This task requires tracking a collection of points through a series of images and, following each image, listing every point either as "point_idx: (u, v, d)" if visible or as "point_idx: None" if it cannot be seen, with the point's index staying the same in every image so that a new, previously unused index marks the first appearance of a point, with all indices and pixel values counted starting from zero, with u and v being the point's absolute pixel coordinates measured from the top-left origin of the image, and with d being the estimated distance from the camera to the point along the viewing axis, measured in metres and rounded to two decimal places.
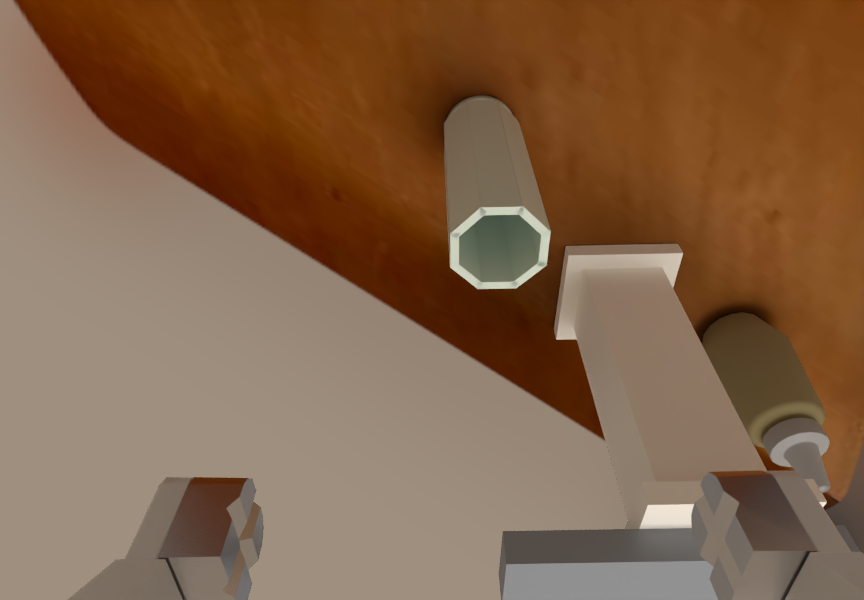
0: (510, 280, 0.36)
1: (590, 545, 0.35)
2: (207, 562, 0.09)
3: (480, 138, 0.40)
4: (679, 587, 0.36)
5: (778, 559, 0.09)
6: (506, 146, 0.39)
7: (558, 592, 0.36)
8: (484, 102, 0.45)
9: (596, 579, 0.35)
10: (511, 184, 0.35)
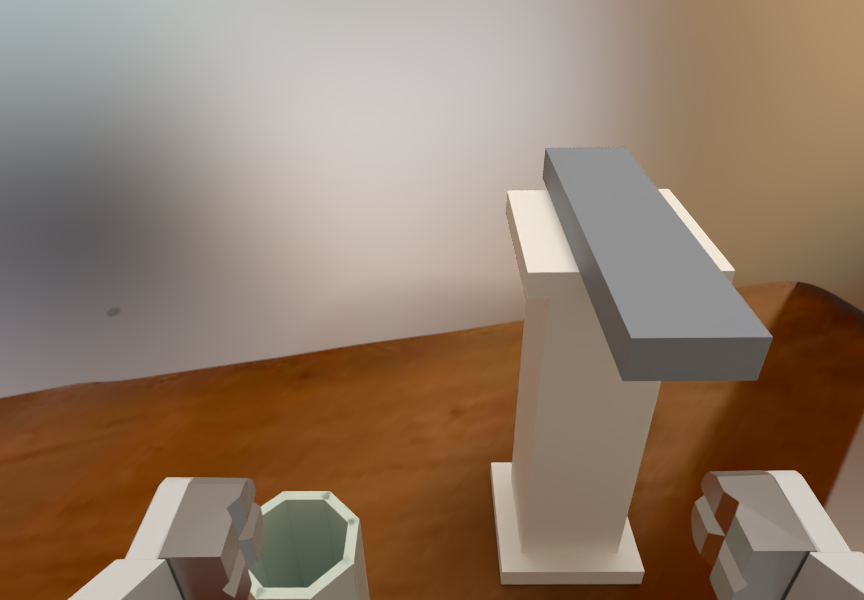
0: None
1: (596, 288, 0.26)
2: (207, 562, 0.09)
3: None
4: (636, 212, 0.30)
5: (778, 559, 0.09)
6: None
7: (696, 287, 0.24)
8: None
9: (642, 262, 0.26)
10: None
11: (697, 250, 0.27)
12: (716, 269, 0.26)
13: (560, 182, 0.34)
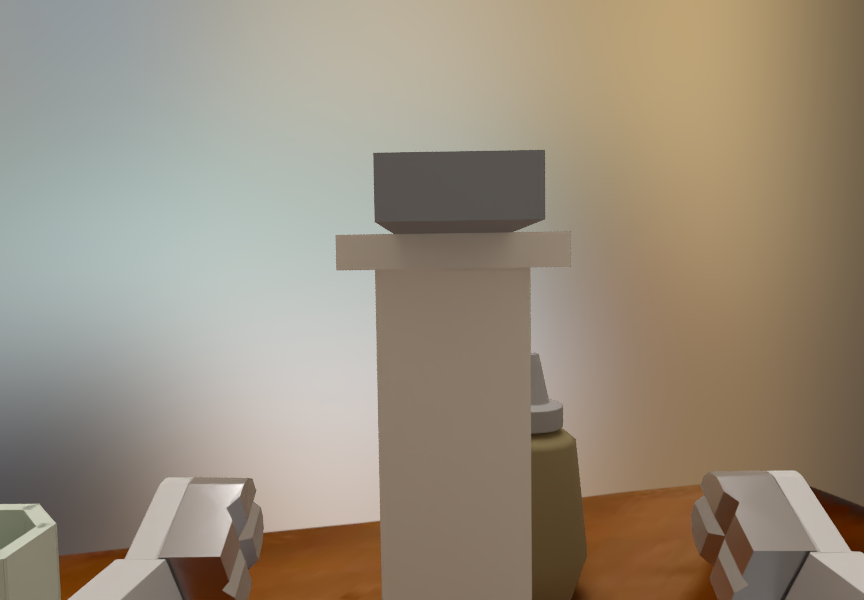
0: None
1: None
2: (208, 562, 0.09)
3: None
4: None
5: (778, 559, 0.09)
6: None
7: None
8: None
9: None
10: None
11: None
12: None
13: None
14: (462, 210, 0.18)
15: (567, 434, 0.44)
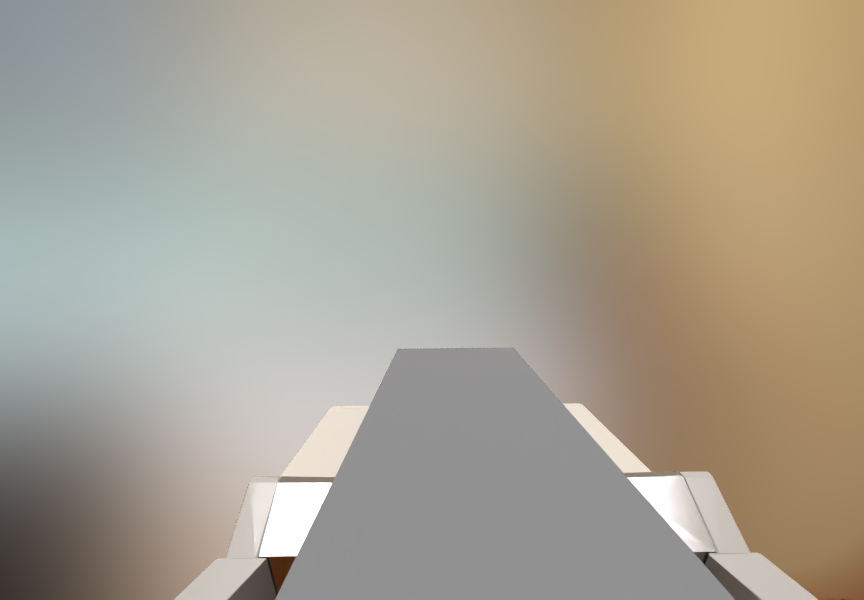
0: None
1: None
2: None
3: None
4: (486, 396, 0.17)
5: None
6: None
7: (545, 493, 0.10)
8: None
9: (445, 454, 0.12)
10: None
11: (575, 438, 0.13)
12: (607, 464, 0.11)
13: (387, 373, 0.21)
14: None
15: None
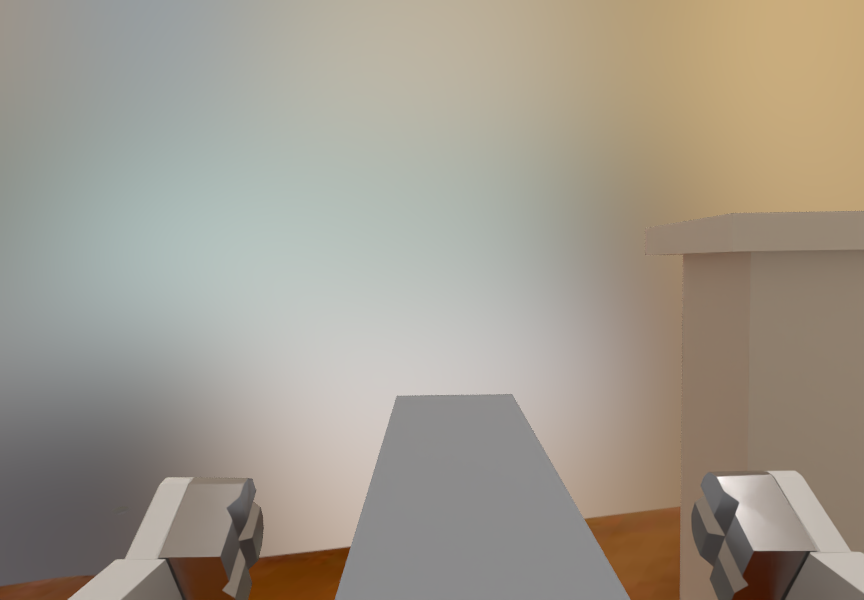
0: None
1: None
2: (207, 562, 0.09)
3: None
4: (485, 469, 0.17)
5: (778, 559, 0.09)
6: None
7: None
8: None
9: (445, 559, 0.12)
10: None
11: (574, 533, 0.13)
12: (606, 573, 0.11)
13: (386, 432, 0.21)
14: None
15: None
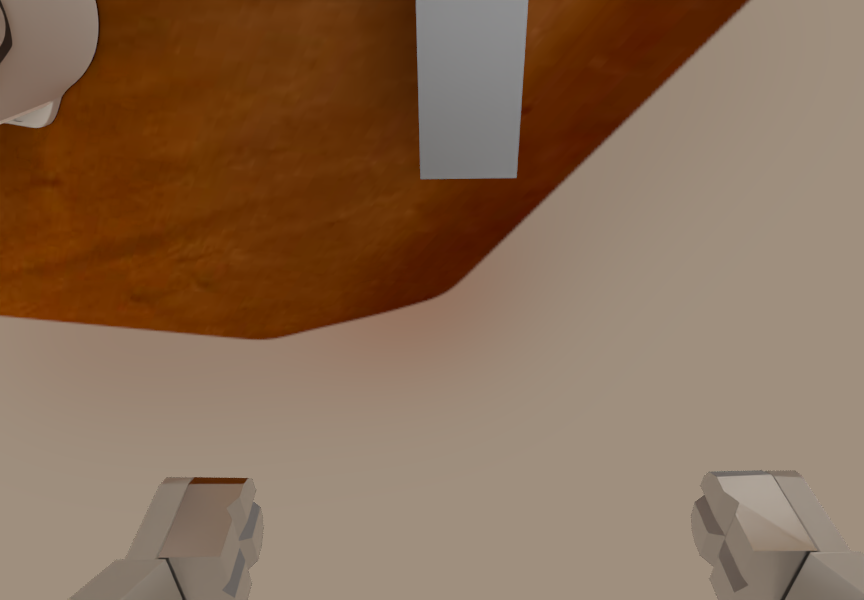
0: None
1: None
2: (207, 561, 0.09)
3: None
4: None
5: (778, 559, 0.09)
6: None
7: (489, 114, 0.30)
8: None
9: (458, 71, 0.29)
10: None
11: (517, 47, 0.28)
12: (519, 83, 0.29)
13: None
14: None
15: None
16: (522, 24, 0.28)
